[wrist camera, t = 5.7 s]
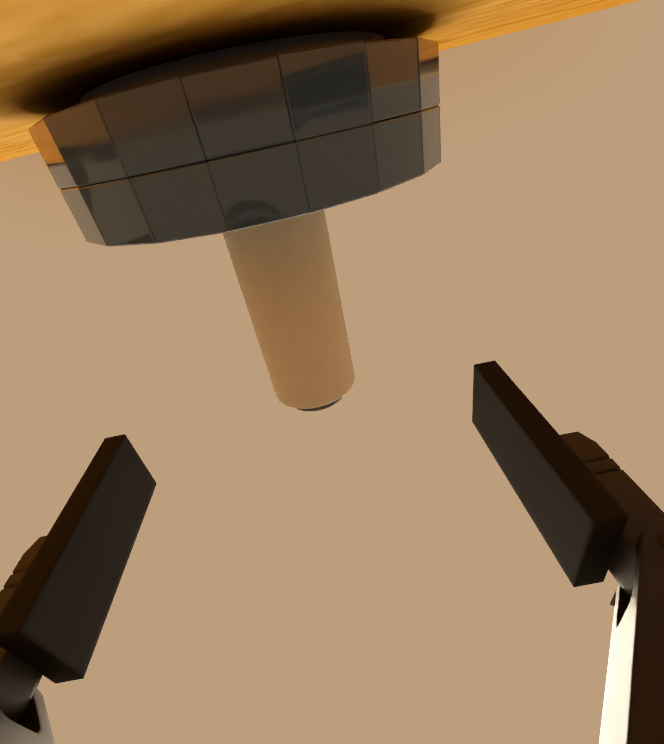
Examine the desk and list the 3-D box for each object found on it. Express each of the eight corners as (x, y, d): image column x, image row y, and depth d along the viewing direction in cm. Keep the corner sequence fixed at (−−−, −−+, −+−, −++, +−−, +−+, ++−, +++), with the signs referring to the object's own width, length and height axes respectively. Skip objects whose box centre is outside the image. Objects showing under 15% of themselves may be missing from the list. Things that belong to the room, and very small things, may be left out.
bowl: (108, 121, 23) (142, 202, 25) (-115, 103, 9) (6, 283, 12) (374, 64, 23) (382, 148, 26) (535, -33, 10) (520, 165, 12)
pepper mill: (190, 108, 19) (280, 392, 28) (169, 101, 14) (284, 439, 24) (295, 86, 19) (350, 375, 28) (306, 72, 14) (366, 419, 24)
